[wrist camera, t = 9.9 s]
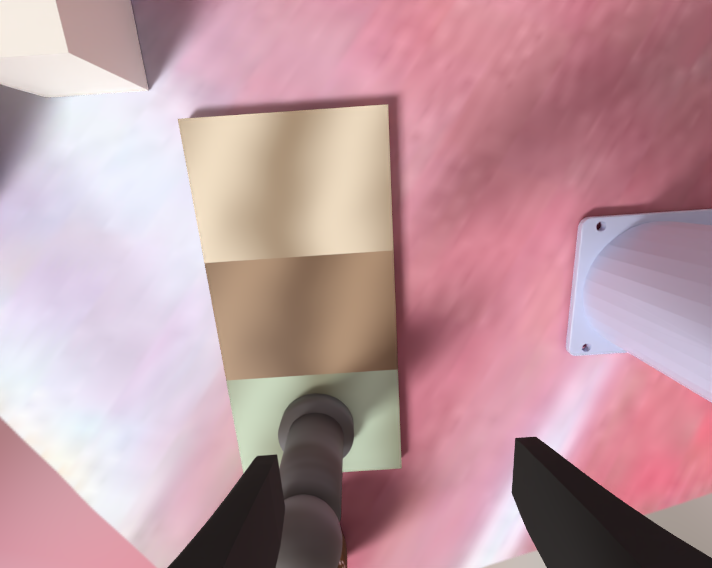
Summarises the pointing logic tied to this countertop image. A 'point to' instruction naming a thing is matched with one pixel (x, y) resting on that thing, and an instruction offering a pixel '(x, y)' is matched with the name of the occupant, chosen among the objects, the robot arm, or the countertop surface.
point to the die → (70, 47)
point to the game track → (301, 268)
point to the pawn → (313, 480)
